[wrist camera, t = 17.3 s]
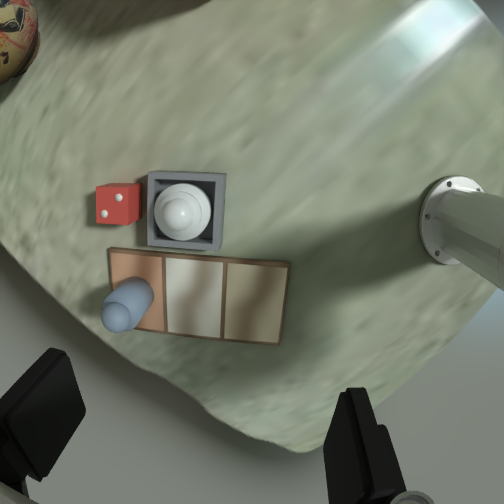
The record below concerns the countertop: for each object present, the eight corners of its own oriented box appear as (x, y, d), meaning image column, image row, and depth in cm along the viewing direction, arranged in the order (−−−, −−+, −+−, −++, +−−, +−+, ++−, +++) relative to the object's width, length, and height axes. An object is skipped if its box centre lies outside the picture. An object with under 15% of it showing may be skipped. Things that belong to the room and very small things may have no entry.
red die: (141, 183, 38) (127, 187, 33) (141, 217, 39) (127, 225, 35) (111, 183, 38) (95, 186, 34) (111, 216, 39) (96, 223, 35)
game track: (289, 262, 40) (290, 264, 39) (279, 342, 44) (279, 345, 43) (111, 246, 40) (108, 248, 40) (118, 323, 44) (115, 326, 43)
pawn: (153, 278, 41) (128, 308, 32) (154, 312, 42) (131, 347, 33) (120, 274, 41) (89, 301, 32) (122, 306, 42) (94, 338, 33)
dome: (213, 184, 36) (206, 188, 31) (210, 238, 37) (203, 249, 33) (159, 181, 36) (146, 185, 31) (158, 234, 37) (145, 244, 33)
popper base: (226, 173, 37) (223, 174, 34) (222, 244, 40) (219, 251, 37) (156, 170, 37) (148, 171, 34) (155, 239, 40) (147, 245, 37)
